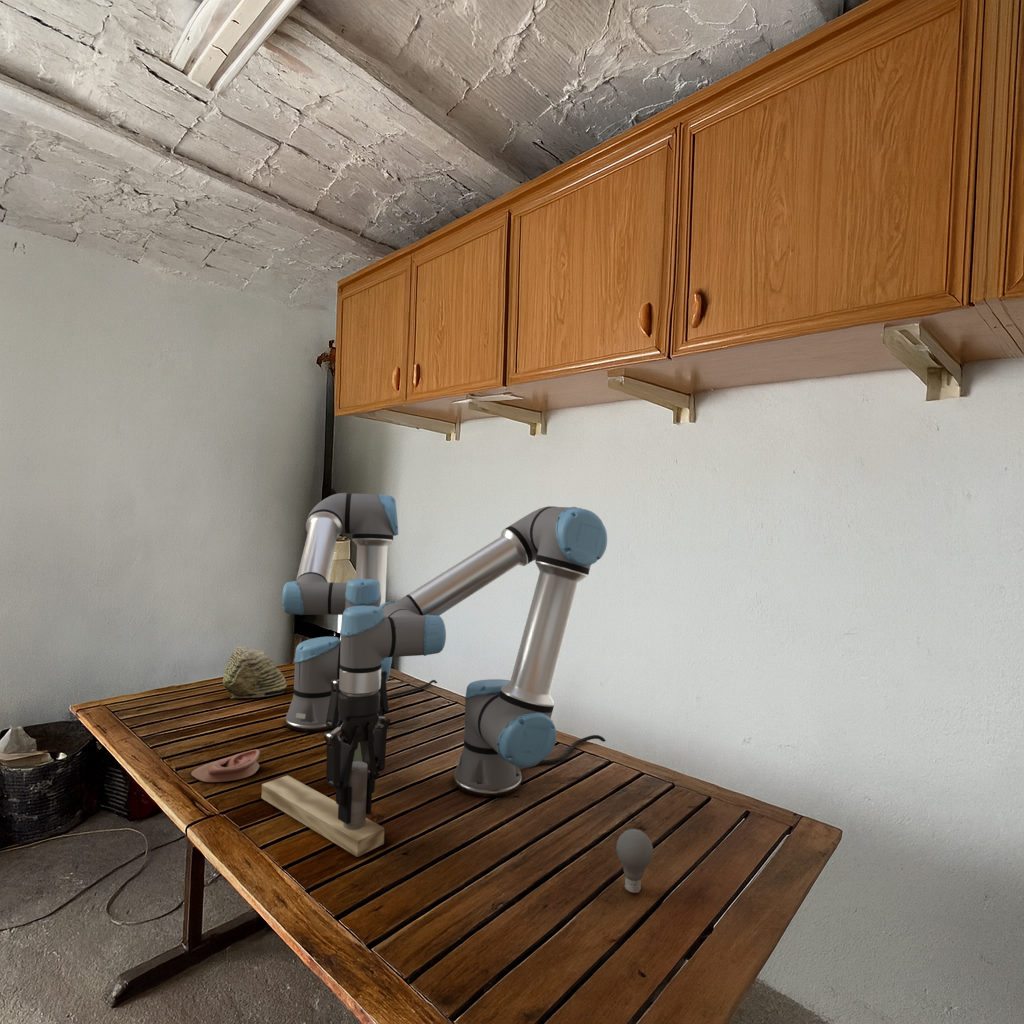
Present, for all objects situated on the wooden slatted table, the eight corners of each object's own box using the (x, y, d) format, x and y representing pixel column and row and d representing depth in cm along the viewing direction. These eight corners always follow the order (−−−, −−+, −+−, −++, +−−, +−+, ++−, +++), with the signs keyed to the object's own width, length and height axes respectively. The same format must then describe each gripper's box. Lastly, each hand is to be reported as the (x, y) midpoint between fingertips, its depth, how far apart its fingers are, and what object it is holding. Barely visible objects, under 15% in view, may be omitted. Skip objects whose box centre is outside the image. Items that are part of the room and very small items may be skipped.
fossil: (218, 695, 195) (220, 647, 195) (278, 685, 208) (279, 640, 207) (228, 703, 189) (230, 653, 188) (289, 692, 201) (290, 645, 201)
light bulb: (610, 879, 108) (613, 822, 108) (644, 879, 109) (647, 822, 109) (619, 902, 102) (622, 840, 102) (655, 901, 103) (658, 840, 103)
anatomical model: (182, 760, 139) (216, 741, 150) (181, 778, 139) (216, 758, 150) (236, 768, 136) (267, 748, 147) (235, 786, 136) (266, 765, 147)
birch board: (287, 788, 137) (289, 724, 136) (384, 843, 117) (386, 768, 116) (261, 798, 132) (263, 731, 132) (357, 857, 112) (360, 779, 112)
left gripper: (386, 640, 151) (382, 734, 151) (310, 653, 135) (306, 760, 135) (407, 645, 146) (403, 743, 147) (331, 660, 130) (327, 770, 130)
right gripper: (382, 677, 126) (378, 794, 126) (307, 696, 113) (302, 826, 113) (408, 685, 121) (403, 806, 122) (332, 706, 108) (327, 841, 108)
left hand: (356, 751), depth 141 cm, fingers closed on green block, 8 cm apart
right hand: (354, 815), depth 117 cm, fingers closed on birch board, 4 cm apart
